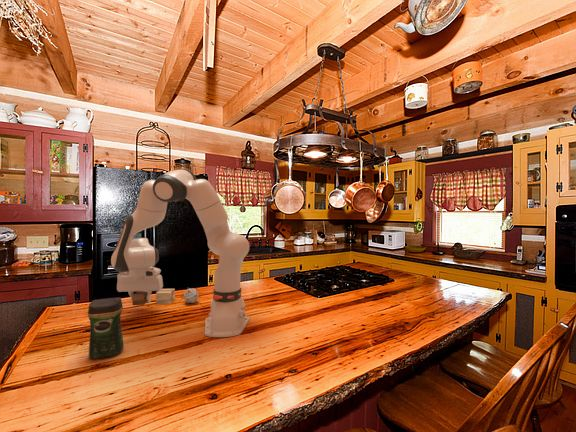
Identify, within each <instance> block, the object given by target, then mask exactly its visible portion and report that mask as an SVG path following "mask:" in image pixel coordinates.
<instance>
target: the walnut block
mask: <svg viewBox="0 0 576 432" xmlns="http://www.w3.org/2000/svg"><path fill="white" fill-rule="evenodd" d="M147 295H148V293H147V291H135V293H134V292H133V295H132V300H131V302H132V306H145V304H148V303H147V302H148V300H145V296H147Z"/></svg>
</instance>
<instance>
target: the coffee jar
mask: <svg viewBox="0 0 576 432" xmlns="http://www.w3.org/2000/svg"><path fill="white" fill-rule="evenodd" d="M122 302H123V301H122V298H121V297H120V296H119V297H109V298H100V299H94V300H92V301H91V302H89V305H88V310H87V317H88V320H89V323H90V330H89V333H90V334H89V344H88V345H89V346H88V359H91V360H98V359H104V358H110V357H114V356H117V355H119V354H120V353H121V352H122V351H123V349H124V338H123V337H124V336H123V331H122V322H121V321H122V320H121V315H122V313H123V308H124V307H123V303H122Z"/></svg>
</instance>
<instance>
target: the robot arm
mask: <svg viewBox="0 0 576 432" xmlns="http://www.w3.org/2000/svg"><path fill="white" fill-rule="evenodd" d="M185 199H186V200H187V201H189V203H190V204H191V205H192V207H193V210H194V211H195V213H196V216H197V218H198V219H199V222H200V224H201V226H202V227H203V231H204V233H205V236H206V240H207V247H208V249H209V250H210V251H211V252H212V253H213V254H215V255H217V256H219V259H218V264H217V267H216V269H215V270H214V289H213V292H212V296H213V297H212V300H211V301H210V312H209V313H208V317H206V318H205V322H204V324H205V325H204V336H205V337H210V338H229V337H230V338H231V337H235V336H240V335H241V334H242V332H243V331H244V329H245V327H246V326H247V324H248V323H249V321H250V317H249V316H246V308H245V307H246V304H245V300H244V299H243V298H242V291H243V290H242V287H241V271H242V266H243V262H244V259H245V258H246V256H247V255H248V253H249V251H250V242H249V240H248V239H247V238H246V237H244V235H242V234H240V233H236V232H235V233H234V232H232V231H231V229H230V227H229V224H228V218H229V215H228V213H227V211H226V209H225V207H224V205H223V203H222V201H221V199H220V197H219V195H218V193H217V191H216V190H215V188H214V187H213V185H212V183H210V181H209V180H207V179H205V178H199V179H198V178H197V177H196V175H195V174H194V172H193V171H192V170H190V169H188V168H177V169H174V170H169V171H168V172H165V173H164V174H161V175H160V176H158V177H157V178H156V179H149V180H146V181H145V182H144V183H143V184H142V186H141V188H140V191H139V195H138V198H137V206H136V208H135V210H134V211H133V212H132V214H131V215H129V216H127V217H126V219H125V221H124V223H123V226H122V228H121V231H120V234H119V238H118V240H117V243H116V246H115V248H114V250H113V252H112V254H111V257H110V258H111V259H110V264H111V268H112V269H113V270H115V271H116V272H119V273H118V274H117V275H116V276H117V283H116V290H117V292H118V293H121V292H122V293H123V292H124V293H125V292H128V295H129V297H130V301H132V295H133V294H134V292H139V291H147V293H148V295H147V296H145V300H149V299H150V294H151V295H152V292H158V291H159V290H161V289H163V287H164V282H163V276H162V274H160V273H161V272H162V270H161V269H160V268H158V267H155V266H156V264H157V263H158V262H159V260H160V252H159V249H157V247H155V246H154V245H151V244H150V242H149V239H148V238H147V237H136V238H134V236H135V235H137V234H138V233H140V232H142V231H144V230H147V229H150V228H153V227H155V226H158V225H159V224H160V223H162V222H163V220H165V217H166V214H167V208H168V203H175V202H184V201H185Z"/></svg>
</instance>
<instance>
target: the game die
mask: <svg viewBox="0 0 576 432" xmlns="http://www.w3.org/2000/svg"><path fill="white" fill-rule="evenodd" d="M181 296H183V298H184V299H183V300H184V303H185V304H188V303H189V304H193V305H196V301H197V300H198V299H199V297H200V293H199V292H198V287H196V288H192V287H191V288H190V287H188V286H187V290H185V292H184V293H183V294H181Z"/></svg>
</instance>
